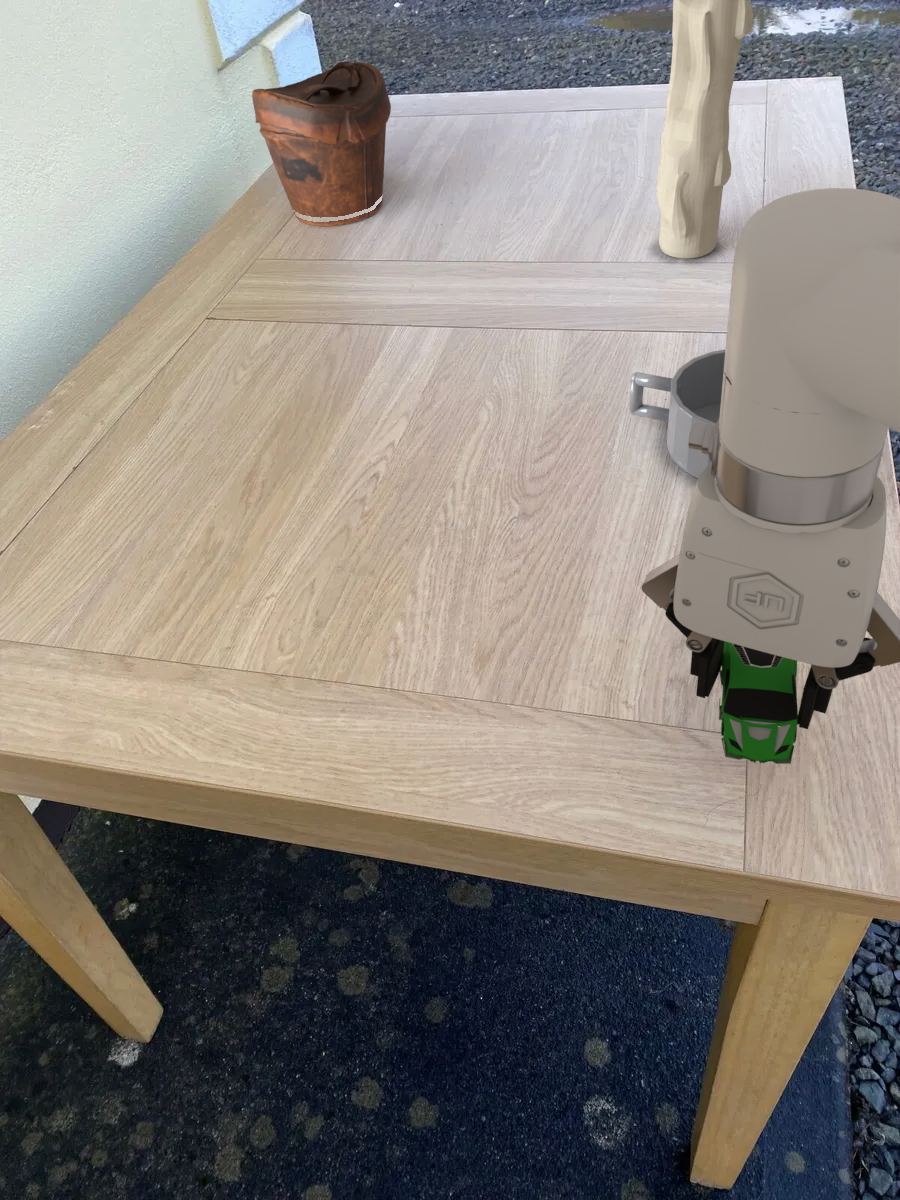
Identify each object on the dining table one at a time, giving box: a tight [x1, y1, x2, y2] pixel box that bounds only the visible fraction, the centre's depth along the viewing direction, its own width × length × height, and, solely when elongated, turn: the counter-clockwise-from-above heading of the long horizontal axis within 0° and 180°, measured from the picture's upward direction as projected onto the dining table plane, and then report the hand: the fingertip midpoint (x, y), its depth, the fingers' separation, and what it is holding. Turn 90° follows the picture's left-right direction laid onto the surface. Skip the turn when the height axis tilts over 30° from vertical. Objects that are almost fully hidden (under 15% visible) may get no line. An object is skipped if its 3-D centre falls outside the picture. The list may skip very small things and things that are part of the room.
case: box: [251, 61, 392, 227], centre depth 125 cm, size 18×20×18 cm
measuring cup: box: [629, 348, 726, 480], centre depth 82 cm, size 17×13×6 cm
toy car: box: [718, 641, 799, 765], centre depth 57 cm, size 10×5×2 cm, turn 167°
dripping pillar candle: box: [656, 0, 754, 259], centre depth 101 cm, size 9×8×30 cm
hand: (757, 694), depth 57 cm, fingers closed on toy car, 5 cm apart
